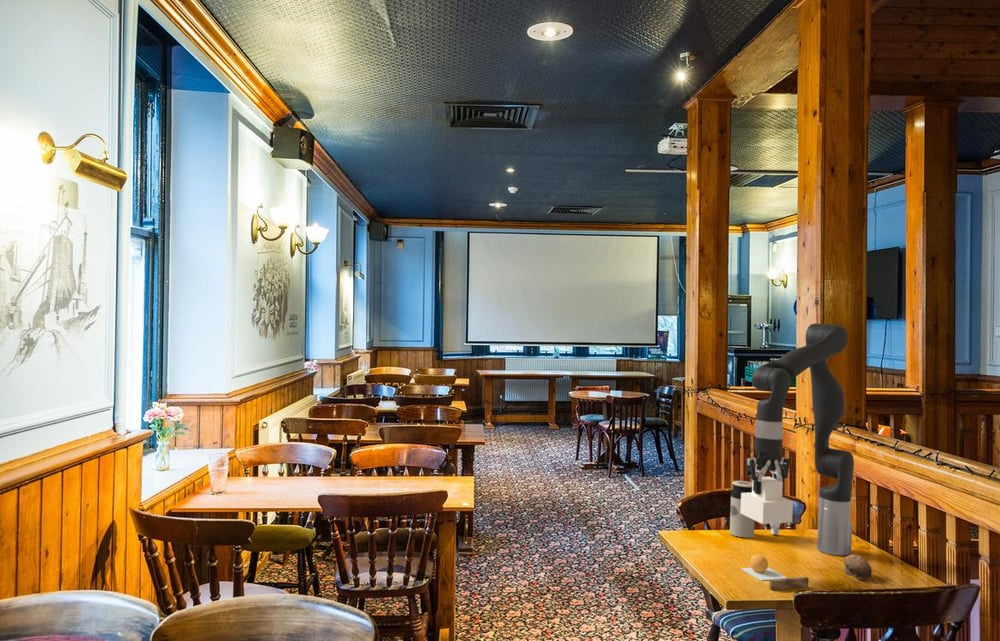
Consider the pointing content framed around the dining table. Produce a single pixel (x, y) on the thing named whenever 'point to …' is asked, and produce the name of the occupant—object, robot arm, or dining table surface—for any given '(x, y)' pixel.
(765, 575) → the beer mat mark
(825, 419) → the robot arm
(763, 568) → the ball
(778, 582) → the strip
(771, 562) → the dining table surface
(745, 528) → the travel mug
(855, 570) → the brown stone
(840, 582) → the dining table surface
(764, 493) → the stepped white block
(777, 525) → the lightbulb
